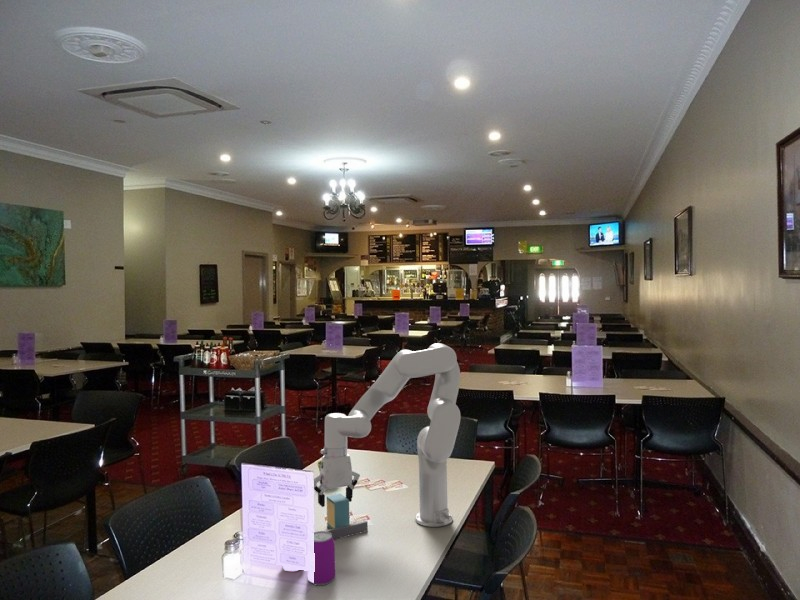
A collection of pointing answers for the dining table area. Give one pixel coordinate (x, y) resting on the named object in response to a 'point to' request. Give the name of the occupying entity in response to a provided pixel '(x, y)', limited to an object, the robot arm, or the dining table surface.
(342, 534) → the rail
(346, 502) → the tea box
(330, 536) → the beverage can
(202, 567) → the dining table surface
